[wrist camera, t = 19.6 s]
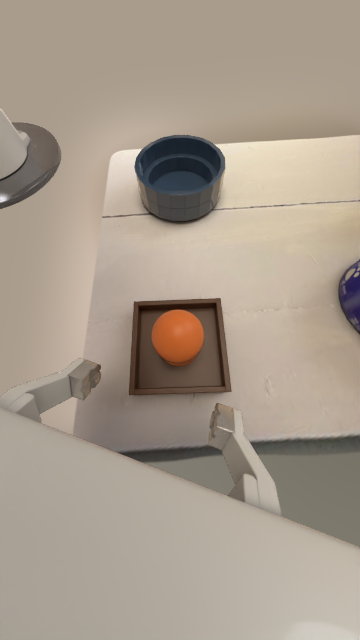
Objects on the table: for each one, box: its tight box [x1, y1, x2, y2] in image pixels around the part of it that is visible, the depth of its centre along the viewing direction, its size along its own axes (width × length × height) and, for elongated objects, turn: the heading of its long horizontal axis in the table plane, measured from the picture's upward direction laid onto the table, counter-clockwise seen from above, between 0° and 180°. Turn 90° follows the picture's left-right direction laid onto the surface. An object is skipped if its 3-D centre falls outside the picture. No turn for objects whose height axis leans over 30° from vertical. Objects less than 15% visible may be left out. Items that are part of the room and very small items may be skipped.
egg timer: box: [152, 310, 204, 366], centre depth 19 cm, size 5×5×8 cm
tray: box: [129, 298, 231, 395], centre depth 22 cm, size 11×11×2 cm
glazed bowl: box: [134, 135, 225, 221], centre depth 30 cm, size 14×14×5 cm
